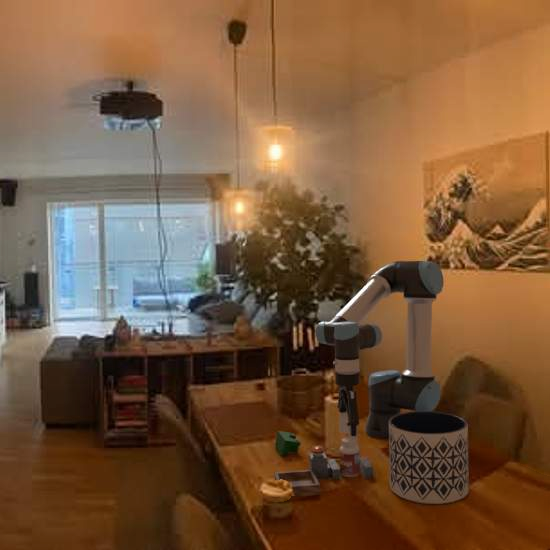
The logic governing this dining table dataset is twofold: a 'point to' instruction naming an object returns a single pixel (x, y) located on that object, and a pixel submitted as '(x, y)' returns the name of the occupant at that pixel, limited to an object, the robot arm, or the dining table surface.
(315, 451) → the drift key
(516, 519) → the dining table surface
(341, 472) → the pill bottle
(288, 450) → the clamp
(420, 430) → the planter
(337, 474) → the socket
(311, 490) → the tray
